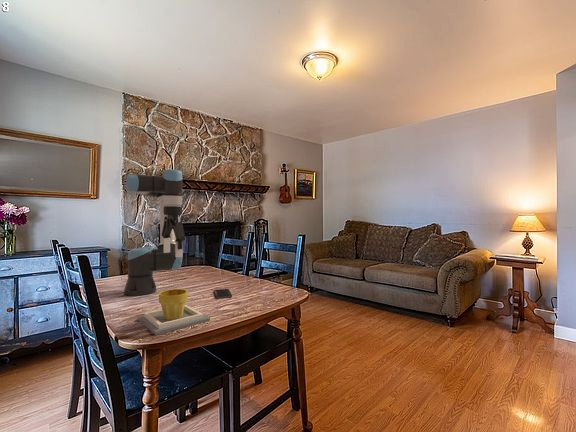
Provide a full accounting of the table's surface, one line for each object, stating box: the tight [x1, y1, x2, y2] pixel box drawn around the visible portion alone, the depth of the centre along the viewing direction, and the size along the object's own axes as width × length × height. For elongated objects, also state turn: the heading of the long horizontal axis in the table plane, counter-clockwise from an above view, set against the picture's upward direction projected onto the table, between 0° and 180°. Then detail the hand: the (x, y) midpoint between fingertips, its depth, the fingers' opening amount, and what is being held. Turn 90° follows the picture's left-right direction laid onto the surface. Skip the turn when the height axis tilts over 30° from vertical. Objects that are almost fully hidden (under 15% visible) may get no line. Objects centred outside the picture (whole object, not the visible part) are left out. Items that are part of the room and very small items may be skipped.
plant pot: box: [158, 288, 189, 320], centre depth 113 cm, size 10×10×10 cm
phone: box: [213, 288, 233, 300], centre depth 150 cm, size 8×1×15 cm
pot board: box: [137, 303, 211, 336], centre depth 113 cm, size 20×20×2 cm
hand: (172, 254), depth 127 cm, fingers open, 13 cm apart
